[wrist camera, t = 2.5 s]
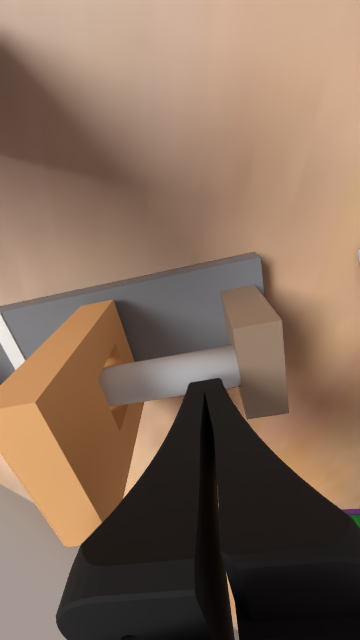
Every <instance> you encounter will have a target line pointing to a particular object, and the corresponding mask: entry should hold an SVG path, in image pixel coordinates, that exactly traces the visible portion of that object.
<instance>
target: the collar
mask: <svg viewBox="0 0 360 640" xmlns="http://www.w3.org/2000/svg"><path fill="white" fill-rule="evenodd" d="M132 362H135V361H134V358H133V355H132V353H131V350H130V347H129V344H128V341H127V338H126V335H125V332H124V329H123V326H122V323H121V320H120V317H119V315H118V312H117V309H116V306H115V303H114V300H113V299H112V300H108V301H103V302H98V303H93V304H88V305H83V306H80V307H79V308H78V309H77V310H76V311H75V312H74V313H73V314H72V315H71V316H70V317H69V318H68V319H67V320H66V321H65V322H64V323H63V324H62V325H61V326H60V327H59V328H58V329H57V330H56V331H55V332H54V333H53V334H52V335H51V336H50V337H49V338H48V339H47V340H46V341H45V342H44V343H43V344H42V345H41V346H40V347H39V348H38V349H37V350H36V351H35V352H34V353H33V354H32V355H31V356H30V357H29V358H28V359H27V360H26V361H25V362H24V363H23V364H22V365H21V366H20V367H18V368H17V369H16V370H15V371H14V372H13V373H12V374H11V375H10V376H9V377H8V378H7V379H6V380H5V381H4V382H3V383H2V384H1V385H0V454H1V455H2V456H3V458H4V459H5V461H6V462H7V464H8V465H9V467H10V468H11V469H12V471H13V472H14V474H15V475H16V477H17V478H18V480H19V481H20V482H21V484H22V485H23V487H24V488H25V490H26V491H27V493H28V494H29V495H30V497H31V498H32V500H33V501H34V503H35V504H36V506H37V507H38V508H39V510H40V511H41V513H42V514H43V515H44V517H45V518H46V520H47V521H48V523H49V524H50V526H51V527H52V529H53V530H54V531H55V533H56V534H57V536H58V537H59V539H60V540H61V541H62V543H63V544H64V546H65V547H69V546H80V545H81V544H82V543H83V542H84V541H85V540H86V539H87V538H88V537H89V536H90V535H91V534H92V533H93V532H94V531H95V529H96V528H97V527H98V526H99V525H100V524H101V523H102V522H103V521H104V520H105V519H106V518H107V517H108V516H109V515H110V514H111V513H112V512H113V510H114V509H115V508H116V507H117V506H118V505H119V503H120V502H121V501H122V500H123V496H124V491H125V486H126V482H127V477H128V473H129V468H130V464H131V459H132V455H133V450H134V446H135V441H136V437H137V432H138V428H139V423H140V419H141V414H142V410H143V405H144V402H137V403H131V404H125V405H118V406H112V407H109V405H108V403H107V401H106V398H105V396H104V393H103V391H102V389H101V386H100V384H99V381H98V377H99V375H100V373H101V371H102V369H103V368H104V367H110V366H115V365H121V364H127V363H132Z"/></svg>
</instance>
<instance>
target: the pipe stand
mask: <svg viewBox="0 0 360 640" xmlns="http://www.w3.org/2000/svg"><path fill="white" fill-rule="evenodd" d="M112 299H113V300H114V303H115V306H116V309H117V312H118V315H119V317H120V320H121V323H122V326H123V329H124V332H125V335H126V338H127V341H128V344H129V347H130V350H131V353H132V355H133V358H134V361H135V362H132V363H127V364H121V365H115V366H110V367H104V368H103V369H102V371H101V373H100V375H99V377H98V381H99V384H100V386H101V389H102V391H103V393H104V396H105V398H106V401H107V403H108V405H109V407H112V406H118V405H125V404H131V403H137V402H144V401H150V400H157V399H163V398H169V397H176V396H182V395H185V394H186V391H187V387H188V385H189V383H190V382H196V381H203V380H209V379H215V378H220V379H222V382H223V385H224V387H225V389H227V388H233V387H239V391H240V395H241V399H242V402H243V406H244V410H245V414H246V417H247V419H251V418H258V417H265V416H272V415H279V414H286V413H289V408H288V395H287V381H286V368H285V355H284V341H283V328H282V320H281V318H280V317H279V316H278V314H277V313H276V312H275V310H274V309H273V308H272V307H271V305H270V304H269V303H268V301H267V300H266V299H265V296H264V286H263V276H262V266H261V257H260V256H259V255H258V254H256V253H255V252H252V253H248V254H243V255H238V256H234V257H229V258H224V259H220V260H215V261H210V262H206V263H201V264H196V265H192V266H187V267H182V268H178V269H173V270H168V271H164V272H159V273H154V274H150V275H145V276H140V277H136V278H131V279H126V280H121V281H117V282H112V283H107V284H103V285H98V286H93V287H89V288H84V289H79V290H75V291H70V292H65V293H61V294H56V295H51V296H47V297H42V298H37V299H33V300H28V301H23V302H19V303H14V304H9V305H5V306H0V385H1V384H2V383H3V382H4V381H5V380H6V379H7V378H8V377H9V376H10V375H11V374H12V373H13V372H14V371H15V370H16V369H17V368H18V367H20V366H21V365H22V364H23V363H24V362H25V361H26V360H27V359H28V358H29V357H30V356H31V355H32V354H33V353H34V352H35V351H36V350H37V349H38V348H39V347H40V346H41V345H42V344H43V343H44V342H45V341H46V340H47V339H48V338H49V337H50V336H51V335H52V334H53V333H54V332H55V331H56V330H57V329H58V328H59V327H60V326H61V325H62V324H63V323H64V322H65V321H66V320H67V319H68V318H69V317H70V316H71V315H72V314H73V313H74V312H75V311H76V310H77V309H78V308H79V307H80V306H83V305H88V304H93V303H98V302H103V301H108V300H112Z"/></svg>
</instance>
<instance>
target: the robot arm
mask: <svg viewBox="0 0 360 640" xmlns="http://www.w3.org/2000/svg"><path fill="white" fill-rule="evenodd" d="M358 257H359V262H360V249H359V251H358ZM217 485H218V489H217ZM218 503H219V508H218ZM226 573H227V576H228V580H229V583H230V587H231V590H232V594H233V597H234V601H235V607H236V615H237V624H238V633H239V640H360V527H359V526H358V525H357V523H356V522H355V521H354V520H353V518H352V517H351V516H349V515H348V514H347V513H345V512H344V511H342V510H341V509H340V508H338V507H337V506H336V505H334V504H333V503H332V502H330V501H329V500H328V499H326V498H325V497H324V496H323V495H321V494H320V493H319V492H318V491H316V490H315V489H314V488H313V487H311V486H310V485H309V484H308V483H307V482H305V481H304V480H303V479H302V478H301V477H300V476H298V475H297V474H296V473H295V472H294V471H293V470H292V469H291V468H290V467H289V466H287V465H286V464H285V463H284V462H283V461H282V460H281V459H280V458H279V457H278V456H277V455H276V454H275V453H274V452H273V451H272V450H271V449H270V448H269V447H268V446H267V445H266V444H265V443H264V442H263V441H262V440H261V438H260V437H259V436H258V435H257V434H256V433H255V432H254V430H253V429H252V428H251V427H250V425H249V424H248V423H247V422H246V420H245V419H244V418H243V416H242V415H241V414H240V412H239V411H238V409H237V408H236V406H235V405H234V403H233V402H232V400H231V398H230V397H229V395H228V393H227V391H226V389H225V387H224V385H223V382H222V379H220V378H215V379H209V380H203V381H196V382H190V383H189V385H188V387H187V391H186V394H185V397H184V399H183V402H182V405H181V407H180V409H179V412H178V414H177V416H176V419H175V421H174V423H173V425H172V427H171V429H170V431H169V433H168V435H167V436H166V438H165V440H164V442H163V444H162V445H161V447H160V449H159V451H158V452H157V454H156V455H155V457H154V458H153V460H152V462H151V463H150V464H149V466H148V467H147V469H146V470H145V472H144V473H143V474H142V476H141V477H140V479H139V480H138V481H137V483H136V484H135V485H134V486H133V488H132V489H131V490H130V491H129V493H128V494H127V495H126V496H125V497H124V499H123V500H122V501H121V502H120V503H119V505H118V506H117V507H116V508H115V509H114V510H113V512H112V513H111V514H110V515H109V516H108V517H107V518H106V519H105V520H104V521H103V522H102V523H101V524H100V525H99V526H98V527H97V528H96V529H95V531H94V532H93V533H92V534H91V535H90V536H89V537H88V538H87V539H86V540H85V541H84V542H83V543H82V544H81V546H80V548H79V551H78V553H77V556H76V558H75V560H74V563H73V565H72V568H71V571H70V573H69V577H68V580H67V583H66V586H65V589H64V592H63V596H62V599H61V602H60V605H59V608H58V611H57V614H56V623H57V626H58V628H59V630H60V632H61V633H62V634H63V636H64V637H65V638H66V639H67V640H235V639H234V631H233V623H232V616H231V608H230V600H229V592H228V584H227V576H226Z"/></svg>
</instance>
